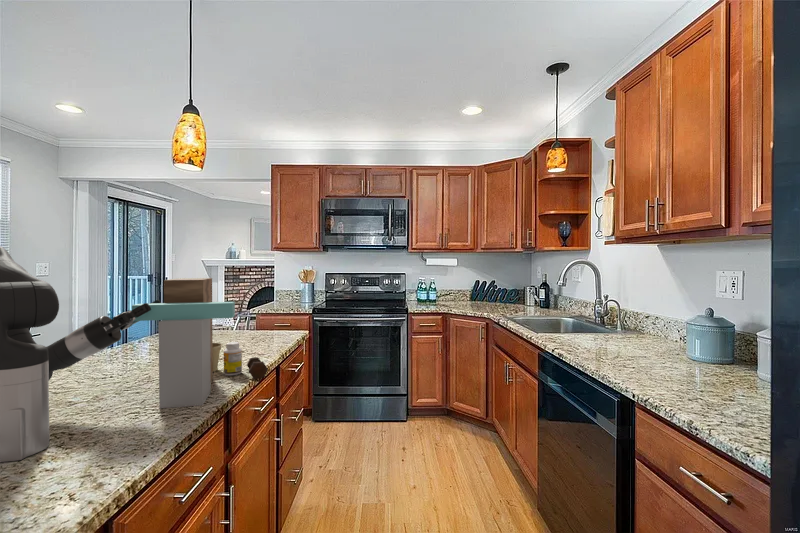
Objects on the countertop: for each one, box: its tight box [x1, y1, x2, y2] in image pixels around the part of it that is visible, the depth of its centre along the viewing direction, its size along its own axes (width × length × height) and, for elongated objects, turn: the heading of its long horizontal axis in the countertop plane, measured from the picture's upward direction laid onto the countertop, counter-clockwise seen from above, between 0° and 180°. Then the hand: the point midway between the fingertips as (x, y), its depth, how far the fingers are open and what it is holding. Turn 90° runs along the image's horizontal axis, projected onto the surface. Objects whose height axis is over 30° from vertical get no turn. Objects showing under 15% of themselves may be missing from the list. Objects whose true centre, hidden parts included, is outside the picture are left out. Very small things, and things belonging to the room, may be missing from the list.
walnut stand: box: [163, 277, 214, 383], centre depth 119 cm, size 12×10×32 cm
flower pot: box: [212, 342, 223, 373], centre depth 137 cm, size 9×9×9 cm
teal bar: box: [131, 301, 236, 322], centre depth 108 cm, size 4×24×4 cm, turn 104°
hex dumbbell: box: [246, 357, 269, 380], centre depth 135 cm, size 6×5×15 cm
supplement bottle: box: [223, 341, 243, 377], centre depth 133 cm, size 6×6×10 cm
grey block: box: [158, 319, 212, 409], centre depth 108 cm, size 10×10×22 cm
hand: (155, 304), depth 106 cm, fingers open, 8 cm apart
